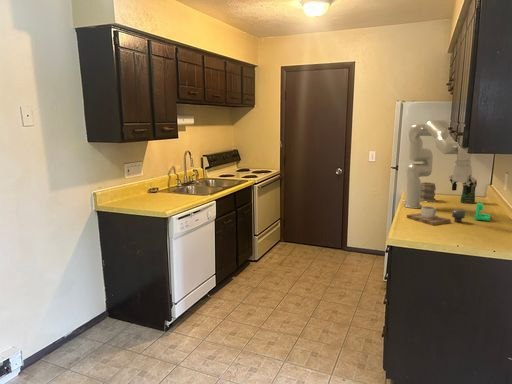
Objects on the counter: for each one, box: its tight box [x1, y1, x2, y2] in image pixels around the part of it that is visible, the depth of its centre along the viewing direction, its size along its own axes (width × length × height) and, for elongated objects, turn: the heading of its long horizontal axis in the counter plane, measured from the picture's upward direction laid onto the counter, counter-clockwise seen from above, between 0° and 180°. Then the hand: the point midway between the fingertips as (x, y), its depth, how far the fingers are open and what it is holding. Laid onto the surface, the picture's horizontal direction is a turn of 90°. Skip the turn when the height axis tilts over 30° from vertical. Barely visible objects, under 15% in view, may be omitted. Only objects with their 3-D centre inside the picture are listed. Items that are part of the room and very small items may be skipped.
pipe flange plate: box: [406, 205, 452, 226], centre depth 229 cm, size 20×15×8 cm
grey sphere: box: [451, 208, 466, 224], centre depth 226 cm, size 7×7×7 cm
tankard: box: [420, 182, 437, 203], centre depth 291 cm, size 20×13×15 cm, turn 68°
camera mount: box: [474, 202, 491, 222], centre depth 231 cm, size 12×8×10 cm, turn 145°
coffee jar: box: [460, 180, 478, 205], centre depth 281 cm, size 10×8×19 cm
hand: (461, 191), depth 223 cm, fingers open, 9 cm apart
